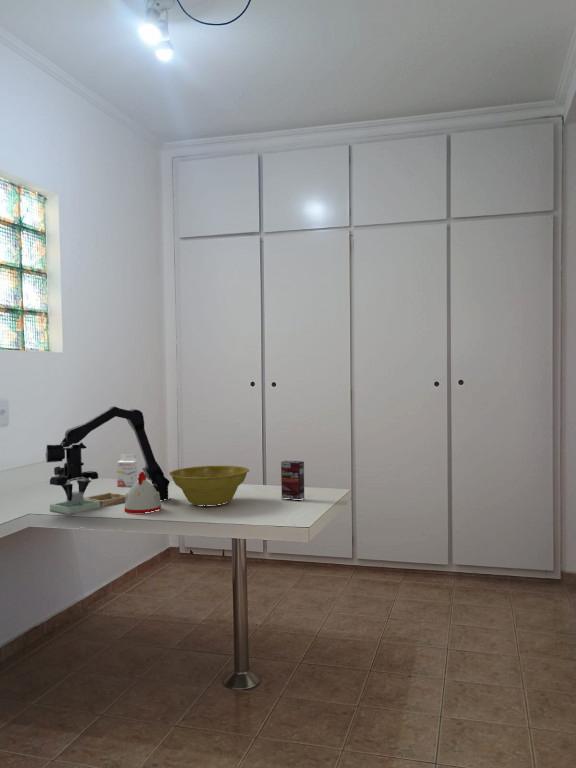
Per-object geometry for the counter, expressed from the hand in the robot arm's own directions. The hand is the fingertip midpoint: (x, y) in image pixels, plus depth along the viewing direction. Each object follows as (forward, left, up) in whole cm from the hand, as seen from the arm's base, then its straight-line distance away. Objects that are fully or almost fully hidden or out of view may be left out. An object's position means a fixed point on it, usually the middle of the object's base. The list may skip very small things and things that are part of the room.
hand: (75, 499), depth 262 cm
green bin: (0, 0, -4) cm, 4 cm away
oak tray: (0, -15, -4) cm, 15 cm away
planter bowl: (-38, -37, -4) cm, 53 cm away
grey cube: (0, 0, -1) cm, 1 cm away
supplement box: (-62, -61, -4) cm, 87 cm away
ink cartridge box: (+25, -46, -4) cm, 52 cm away
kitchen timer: (-24, -14, -4) cm, 28 cm away
